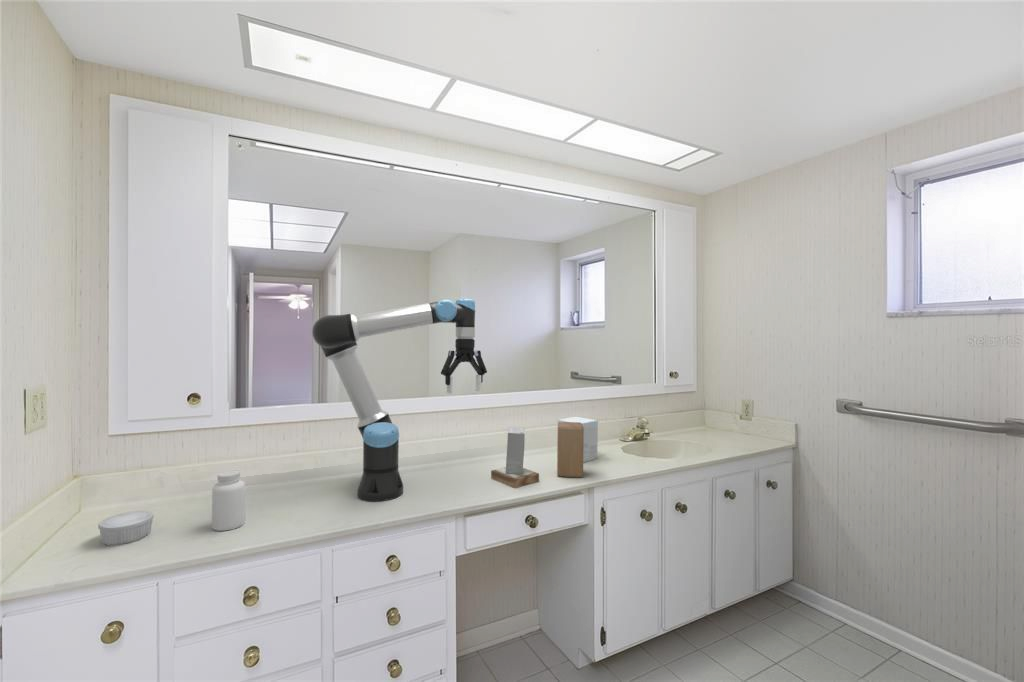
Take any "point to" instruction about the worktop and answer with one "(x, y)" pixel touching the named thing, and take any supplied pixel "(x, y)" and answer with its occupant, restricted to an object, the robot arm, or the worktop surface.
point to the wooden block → (570, 449)
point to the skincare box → (515, 451)
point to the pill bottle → (228, 501)
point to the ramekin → (125, 527)
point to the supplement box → (587, 436)
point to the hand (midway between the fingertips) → (464, 392)
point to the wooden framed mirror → (515, 477)
